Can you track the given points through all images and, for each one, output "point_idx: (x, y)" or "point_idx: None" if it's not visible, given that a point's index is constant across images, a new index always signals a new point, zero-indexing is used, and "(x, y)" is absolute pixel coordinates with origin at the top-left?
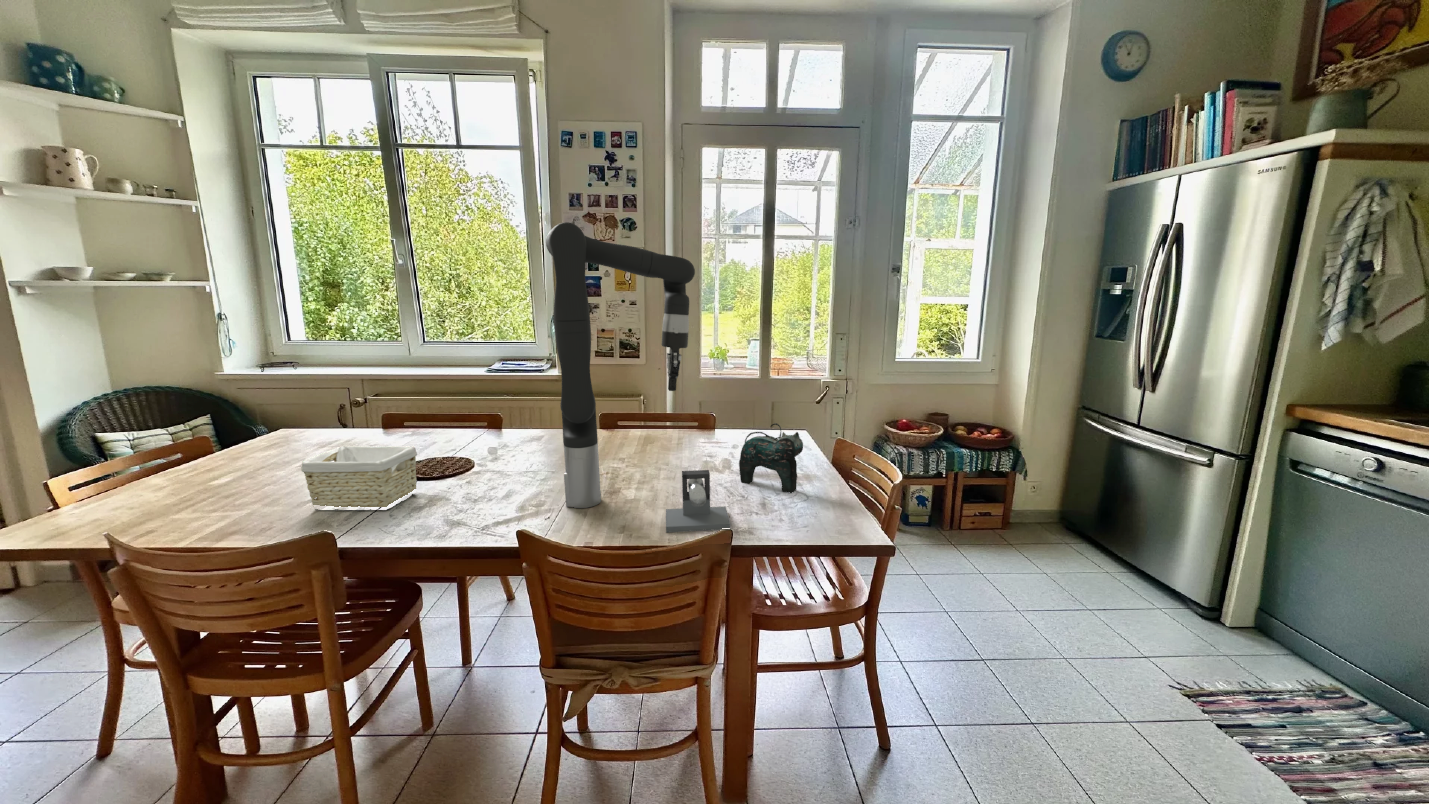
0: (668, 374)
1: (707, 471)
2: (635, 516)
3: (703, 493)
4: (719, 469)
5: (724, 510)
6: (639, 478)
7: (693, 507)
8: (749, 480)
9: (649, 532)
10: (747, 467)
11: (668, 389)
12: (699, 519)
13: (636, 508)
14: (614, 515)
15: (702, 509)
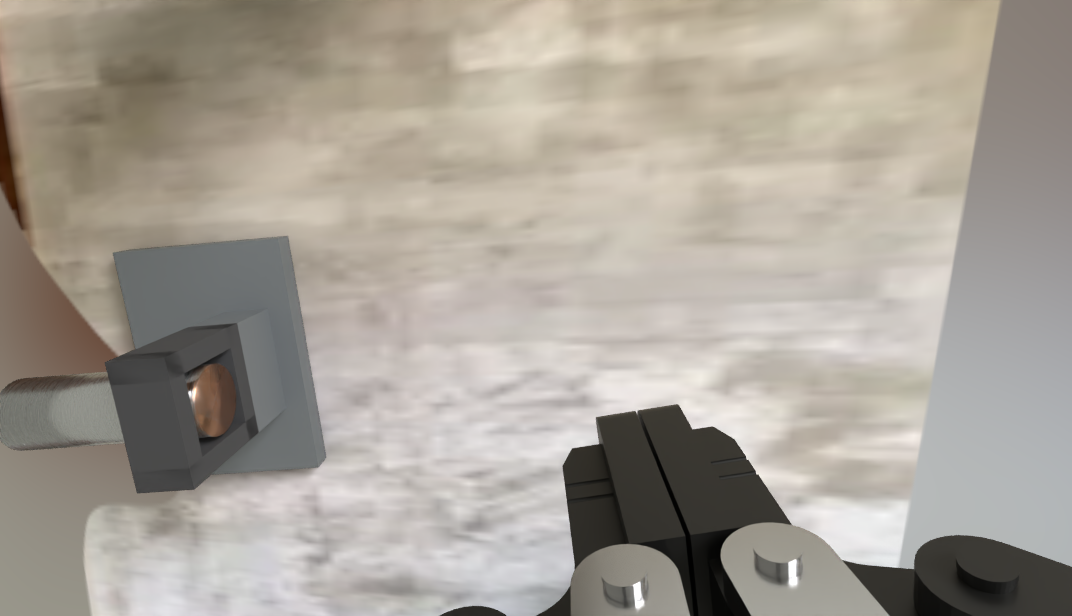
0: (775, 571)
1: (169, 483)
2: (261, 110)
3: (10, 446)
4: (818, 447)
5: (280, 462)
6: (728, 59)
7: None
8: None
9: (122, 187)
10: None
11: (598, 418)
12: None
13: (343, 102)
14: (264, 13)
15: None
